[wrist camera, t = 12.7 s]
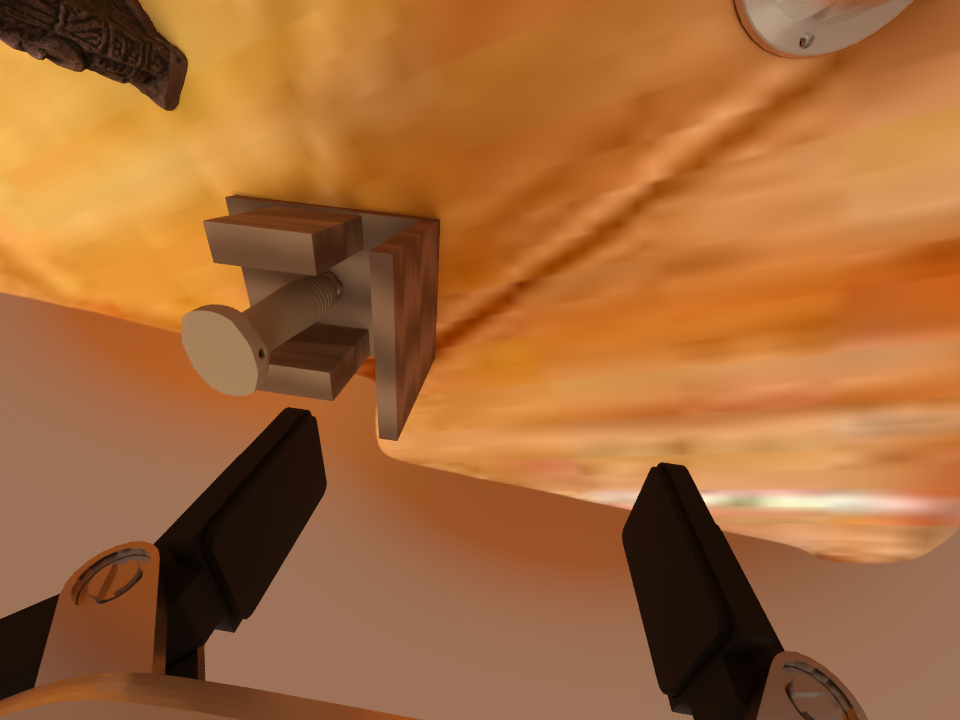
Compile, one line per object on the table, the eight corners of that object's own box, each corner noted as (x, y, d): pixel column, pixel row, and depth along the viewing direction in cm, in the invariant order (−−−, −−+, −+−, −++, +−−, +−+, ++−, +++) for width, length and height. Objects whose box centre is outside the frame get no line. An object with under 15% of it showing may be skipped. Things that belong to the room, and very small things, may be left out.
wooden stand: (236, 195, 35) (83, 215, 23) (440, 219, 34) (392, 254, 22) (266, 334, 43) (163, 405, 30) (434, 358, 42) (397, 441, 29)
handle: (312, 313, 39) (202, 392, 26) (299, 252, 36) (168, 307, 23) (355, 316, 38) (267, 399, 25) (347, 255, 35) (240, 313, 22)
